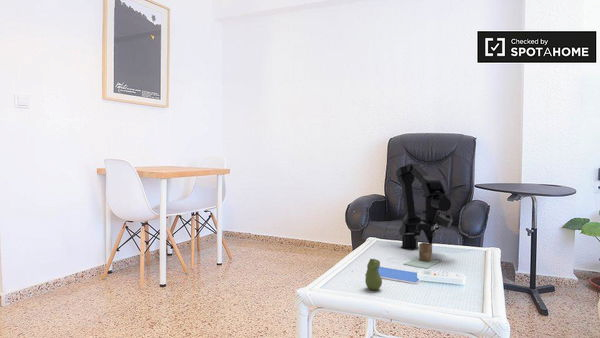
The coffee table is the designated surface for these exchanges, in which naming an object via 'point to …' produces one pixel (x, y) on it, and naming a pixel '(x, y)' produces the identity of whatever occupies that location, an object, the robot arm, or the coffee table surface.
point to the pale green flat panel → (421, 263)
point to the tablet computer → (398, 275)
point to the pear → (373, 275)
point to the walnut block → (425, 252)
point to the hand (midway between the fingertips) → (431, 244)
